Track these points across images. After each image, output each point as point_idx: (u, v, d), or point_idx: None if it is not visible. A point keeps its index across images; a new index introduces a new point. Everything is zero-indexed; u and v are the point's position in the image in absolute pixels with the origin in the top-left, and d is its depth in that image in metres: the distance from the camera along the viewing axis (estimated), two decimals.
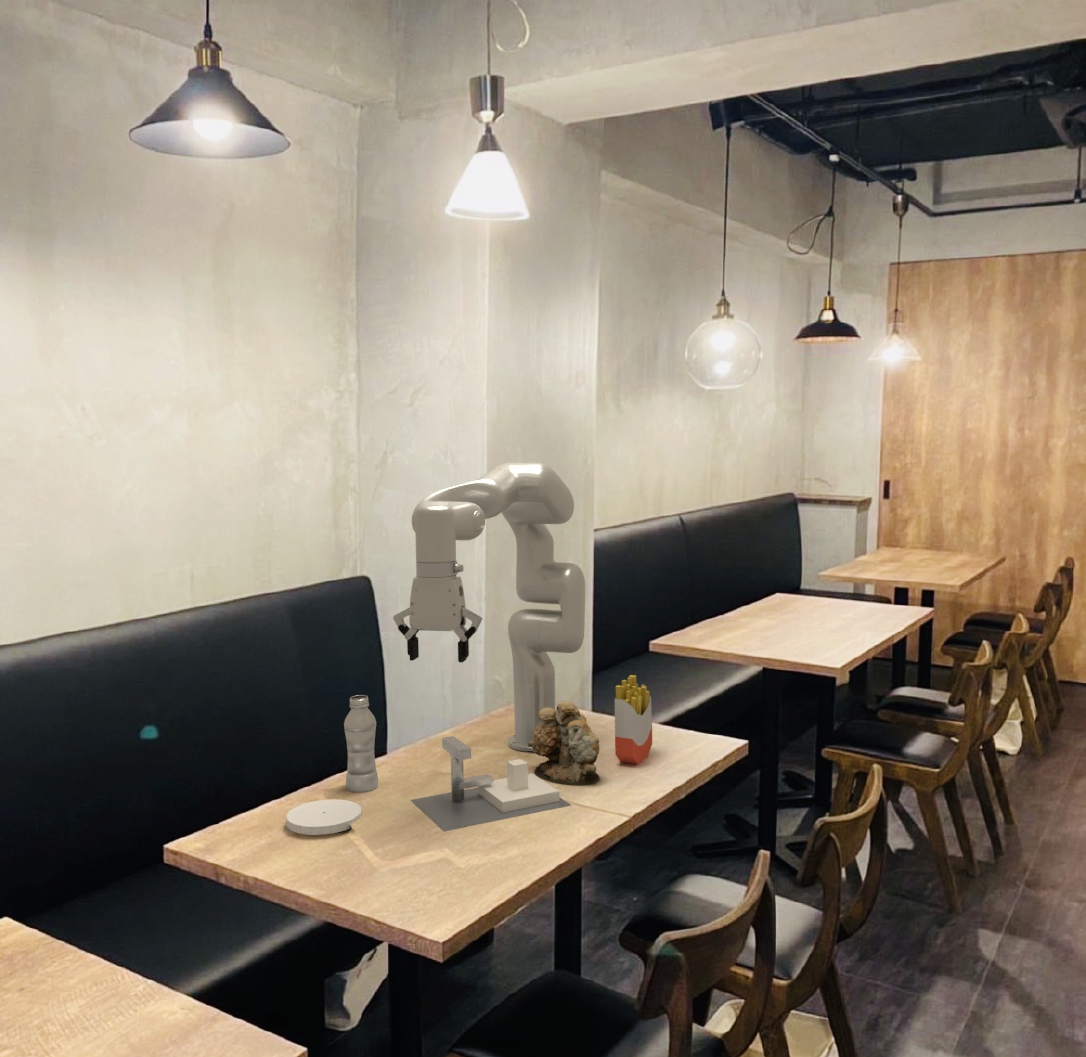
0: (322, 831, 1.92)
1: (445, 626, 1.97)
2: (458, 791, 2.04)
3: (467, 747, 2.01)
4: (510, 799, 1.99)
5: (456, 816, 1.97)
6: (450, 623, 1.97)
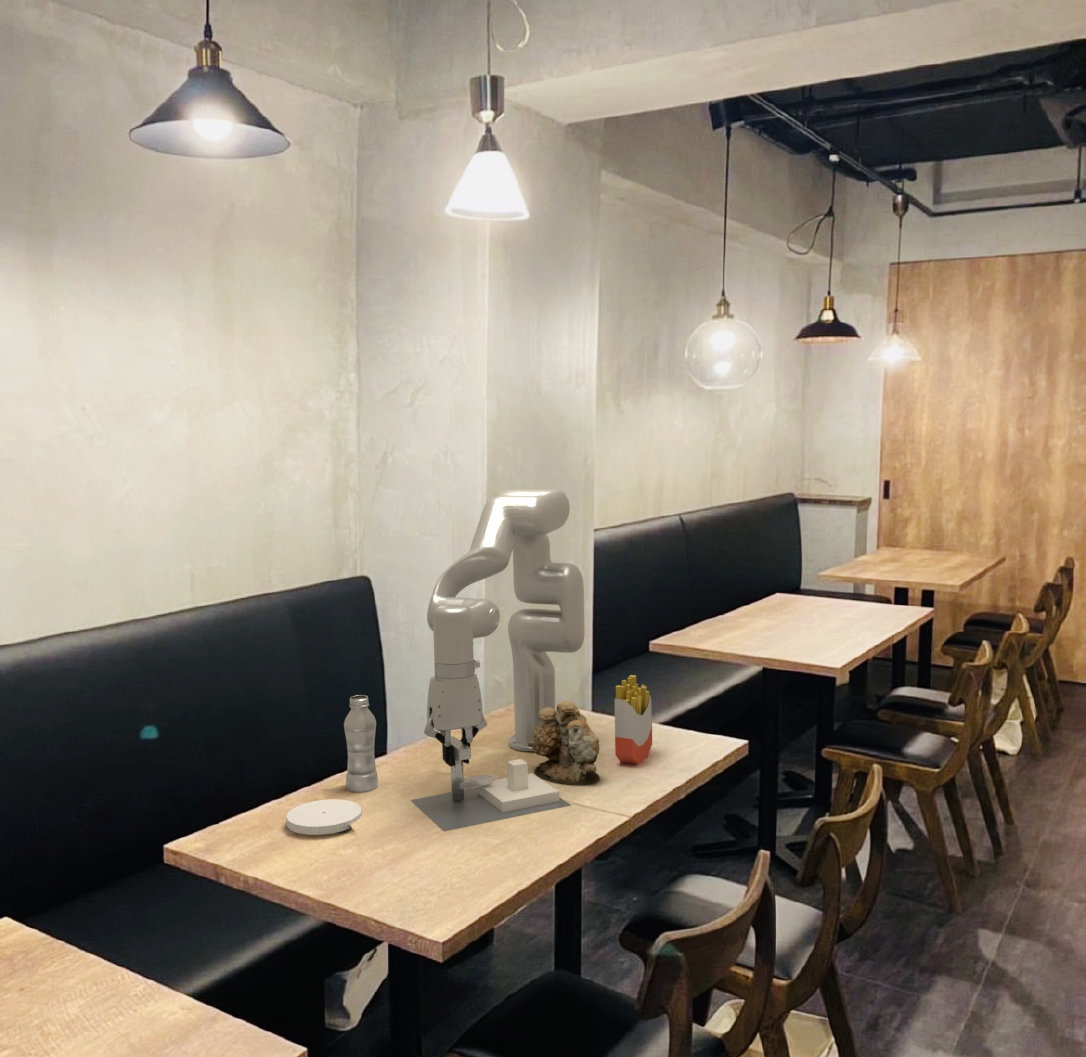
0: (322, 831, 1.92)
1: (471, 722, 2.03)
2: (458, 791, 2.04)
3: (467, 747, 2.01)
4: (510, 799, 1.99)
5: (456, 816, 1.97)
6: (475, 719, 2.03)
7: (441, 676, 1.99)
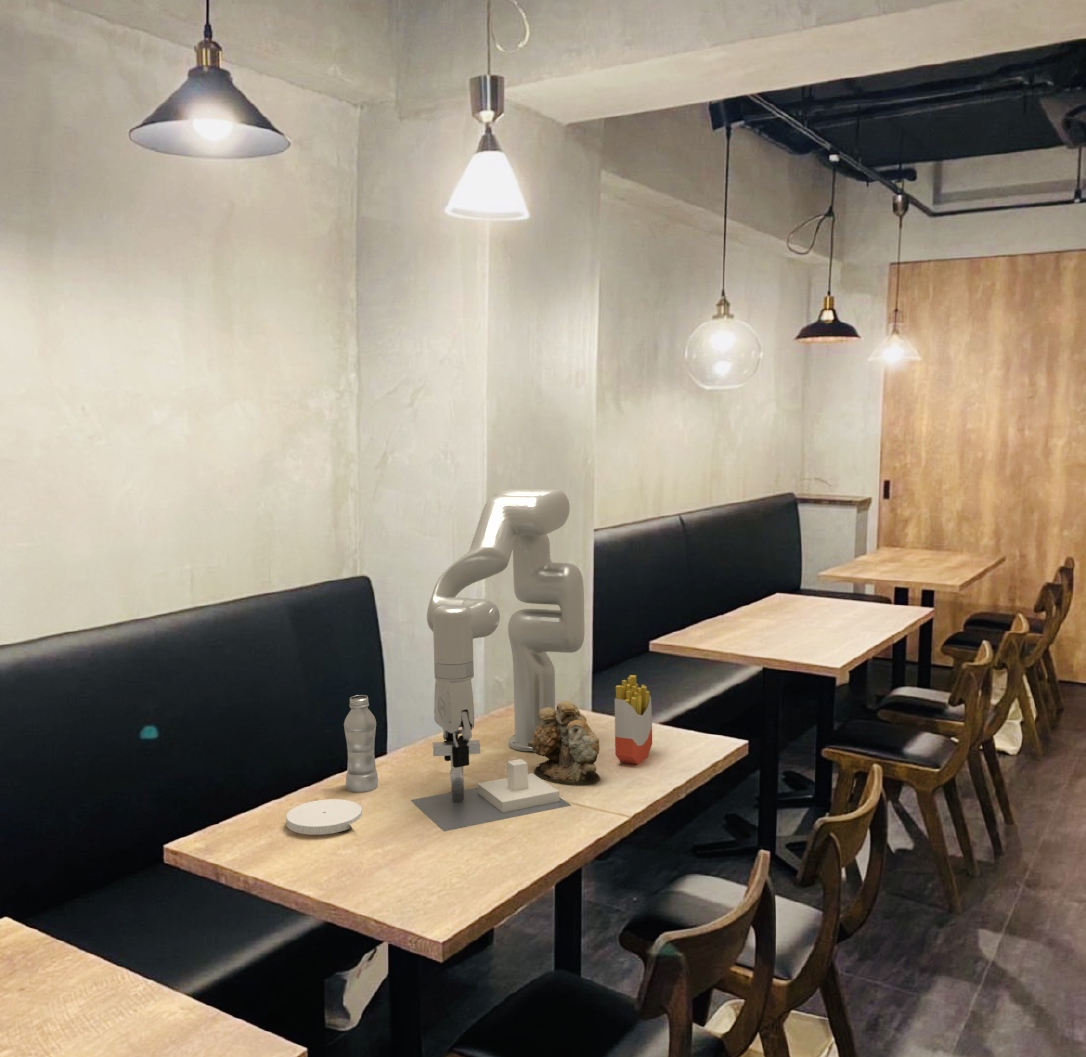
0: (322, 831, 1.92)
1: None
2: (463, 789, 2.05)
3: (475, 740, 2.05)
4: (510, 799, 1.99)
5: (456, 816, 1.97)
6: None
7: (469, 675, 2.00)
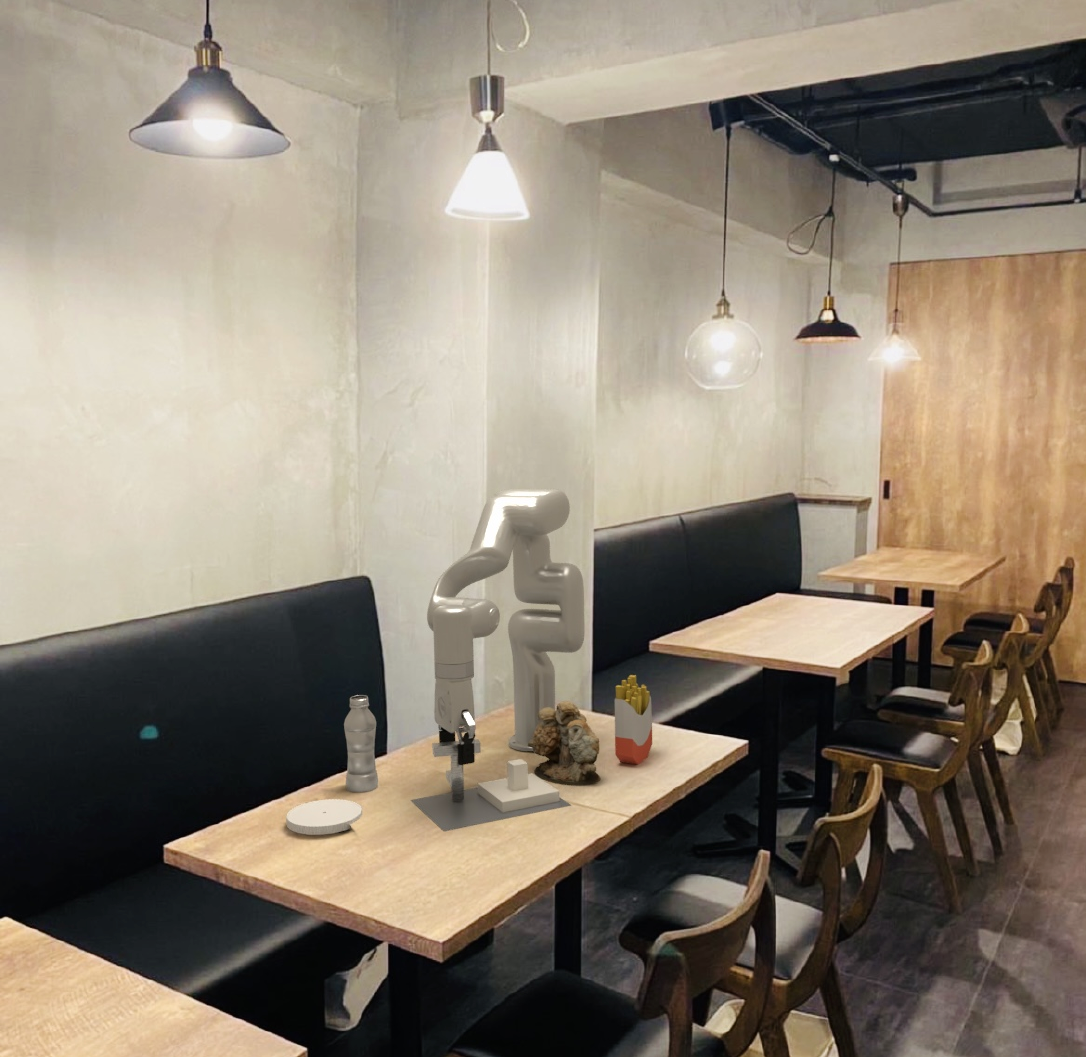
0: (322, 831, 1.92)
1: None
2: (463, 789, 2.05)
3: None
4: (510, 799, 1.99)
5: (456, 816, 1.97)
6: None
7: (469, 674, 2.00)
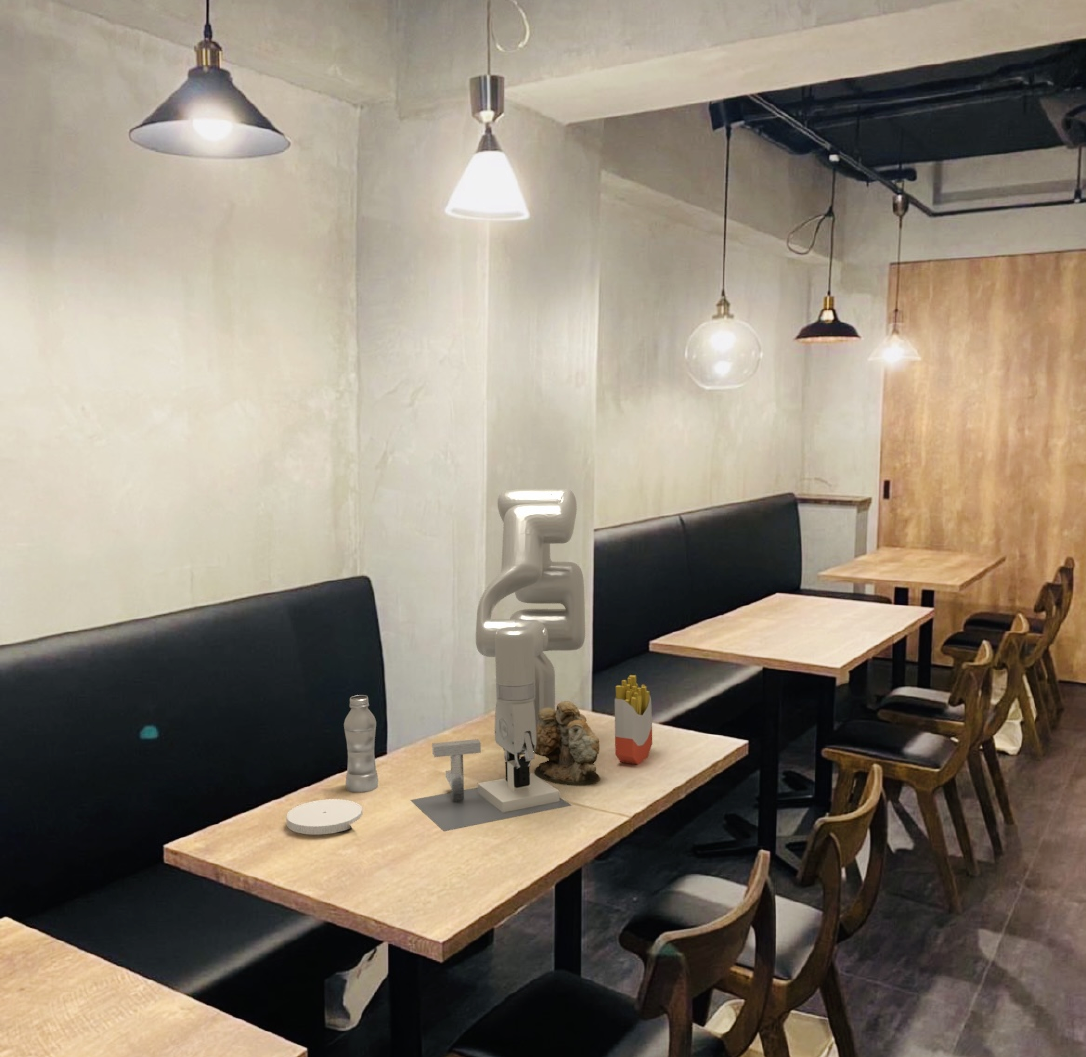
0: (322, 831, 1.92)
1: None
2: (463, 789, 2.05)
3: (474, 740, 2.05)
4: (510, 799, 1.99)
5: (456, 816, 1.97)
6: None
7: (531, 696, 2.02)
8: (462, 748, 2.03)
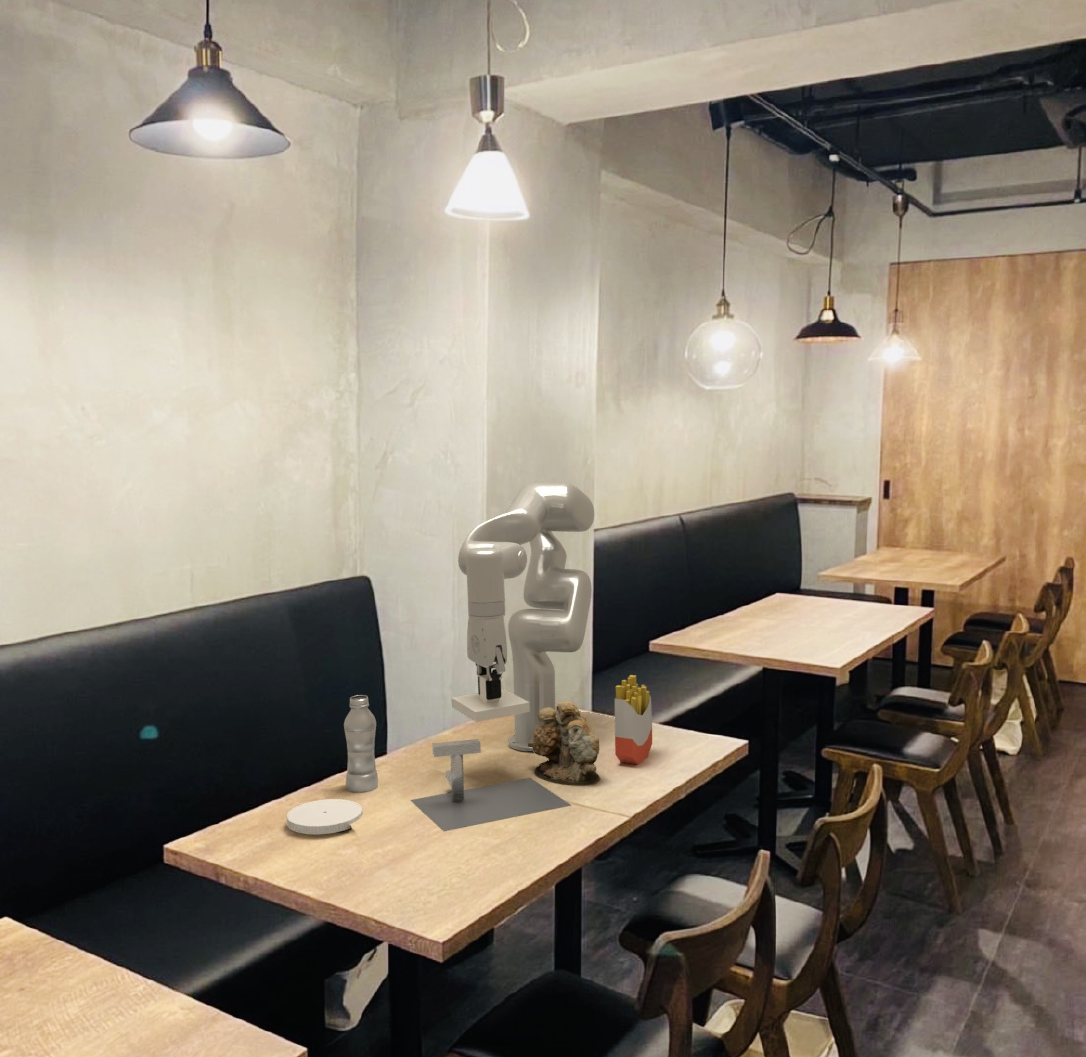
0: (323, 831, 1.92)
1: None
2: (463, 789, 2.05)
3: (474, 740, 2.05)
4: (483, 709, 2.10)
5: (456, 816, 1.97)
6: None
7: (501, 612, 2.12)
8: (462, 748, 2.03)
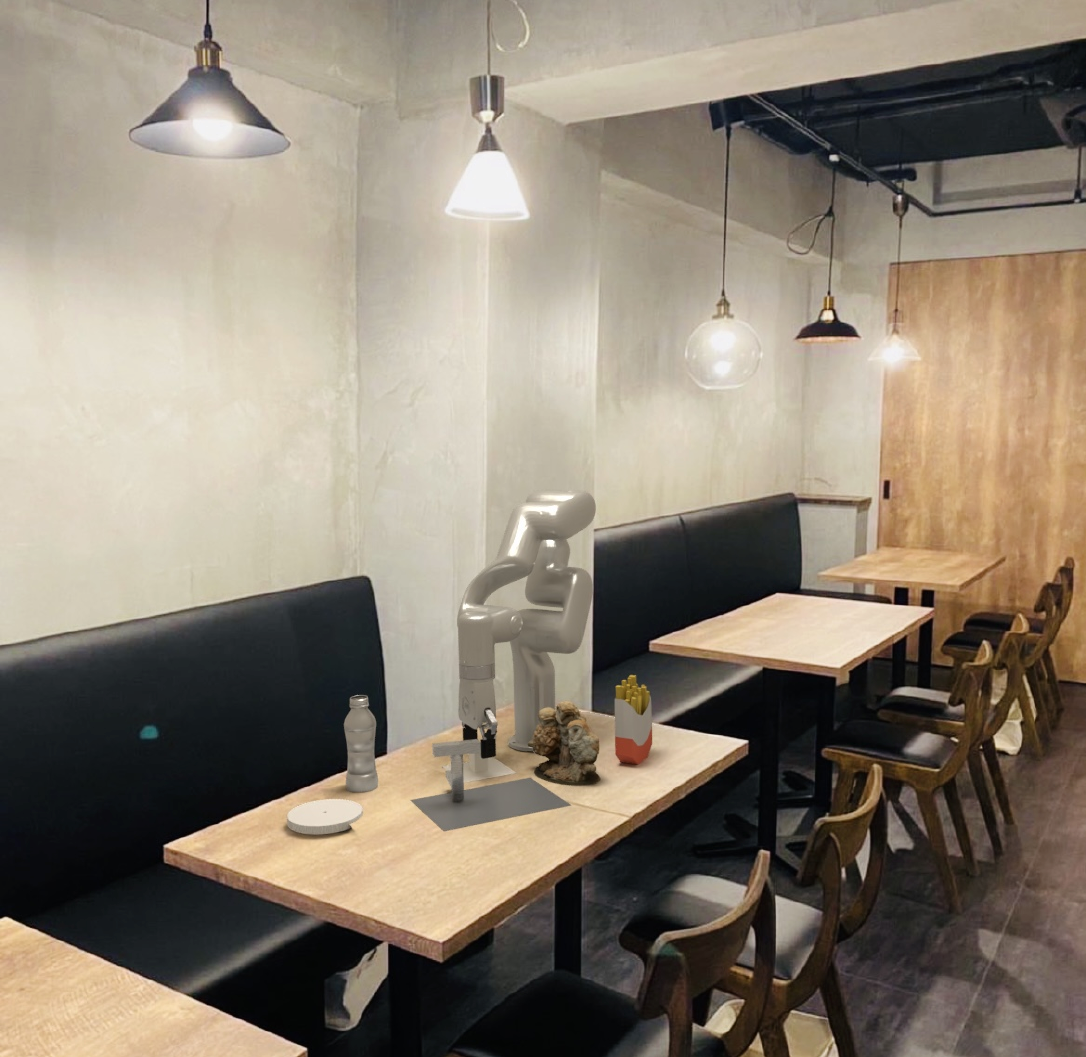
0: (323, 831, 1.92)
1: None
2: (463, 789, 2.05)
3: (474, 740, 2.05)
4: (471, 780, 2.17)
5: (456, 816, 1.97)
6: None
7: (491, 676, 2.19)
8: (462, 748, 2.03)
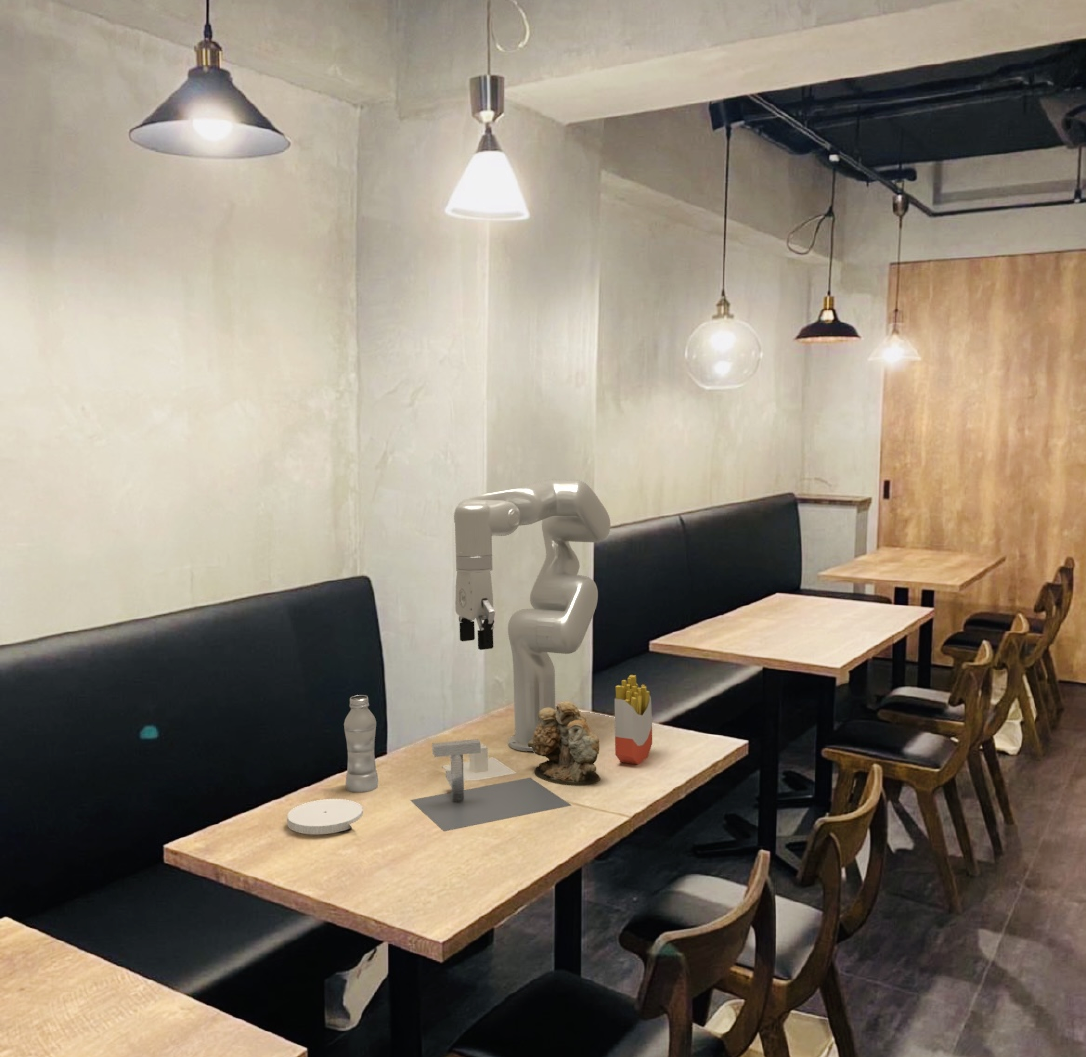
0: (323, 831, 1.92)
1: None
2: (463, 789, 2.05)
3: (474, 740, 2.05)
4: None
5: (456, 816, 1.97)
6: None
7: (488, 567, 2.17)
8: (462, 748, 2.03)
